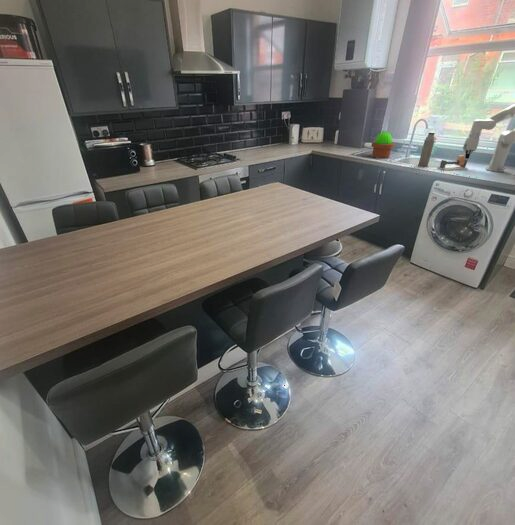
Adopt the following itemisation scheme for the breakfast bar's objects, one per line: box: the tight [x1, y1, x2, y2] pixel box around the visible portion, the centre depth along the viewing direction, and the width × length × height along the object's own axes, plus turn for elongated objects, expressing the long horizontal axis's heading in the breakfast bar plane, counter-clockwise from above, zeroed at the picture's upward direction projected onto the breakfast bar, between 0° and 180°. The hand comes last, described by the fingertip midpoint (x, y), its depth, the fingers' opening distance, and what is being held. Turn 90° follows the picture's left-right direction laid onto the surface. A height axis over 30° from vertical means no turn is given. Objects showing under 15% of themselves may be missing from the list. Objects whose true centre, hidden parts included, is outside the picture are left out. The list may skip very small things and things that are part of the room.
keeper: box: [454, 154, 466, 166], centre depth 256 cm, size 5×4×8 cm
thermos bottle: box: [418, 132, 436, 167], centre depth 263 cm, size 8×8×28 cm
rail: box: [436, 158, 468, 171], centre depth 256 cm, size 10×22×7 cm, turn 98°
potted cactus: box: [370, 130, 395, 159], centre depth 303 cm, size 22×22×25 cm
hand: (466, 158), depth 256 cm, fingers closed
